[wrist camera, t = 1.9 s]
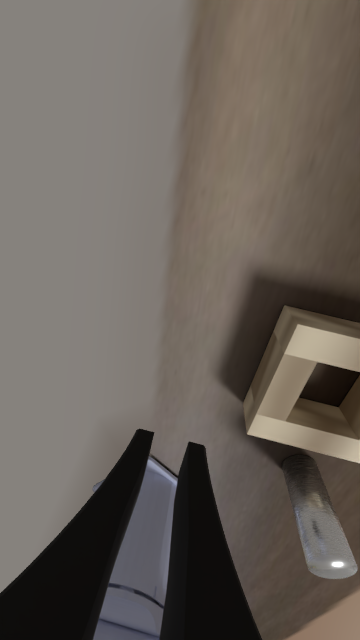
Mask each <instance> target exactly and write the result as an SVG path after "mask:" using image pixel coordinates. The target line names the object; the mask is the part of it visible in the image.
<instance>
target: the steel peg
mask: <svg viewBox="0 0 360 640" xmlns="http://www.w3.org/2000/svg"><path fill="white" fill-rule="evenodd" d="M282 469H283V473H284V477H285V481H286V485H287V489H288V493H289V496H290V500H291V504H292V508H293V512H294V516H295V520H296V524H297V528H298V531H299V535H300V539H301V543H302V547H303V551H304V555H305V559H306V563H307V566H308V569H309V570H310V571H311V572H312V573H313V574H315V575H317V576H320V577H323V578H329V579H342V578H347V577H350V576H352V575H354V574H355V573H356V572H357V569H358V568H357V565H356V562H355V560H354V557H353V555H352V552H351V549H350V547H349V544H348V542H347V539H346V537H345V534H344V532H343V529H342V527H341V524H340V522H339V519H338V517H337V514H336V512H335V509H334V507H333V504H332V502H331V499H330V497H329V494H328V491H327V489H326V486H325V484H324V481H323V479H322V476H321V474H320V471H319V469H318V466H317V464H316V462H315V460H314V459H312V458H311V457H308V456H305V455H294V456H290V457H288V458H286V459H285V460H284V461H283V463H282Z"/></svg>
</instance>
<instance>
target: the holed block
mask: <svg viewBox="0 0 360 640" xmlns="http://www.w3.org/2000/svg"><path fill="white" fill-rule="evenodd" d="M317 362H320V363H324V364H328V365H333V366H337V367H341V368H345V369H349V370H353V371H357V372H360V323H357V322H353V321H349V320H345V319H340V318H336V317H332V316H328V315H323V314H319V313H315V312H311V311H307V310H302V309H298V308H294V307H290V306H285V305H284V307H283V309H282V312H281V314H280V317H279V319H278V321H277V324H276V326H275V329H274V331H273V333H272V336H271V338H270V340H269V343H268V345H267V348H266V350H265V352H264V355H263V357H262V360H261V362H260V364H259V367H258V369H257V371H256V374H255V376H254V379H253V381H252V383H251V386H250V388H249V391H248V393H247V395H246V398H245V400H244V402H243V409H244V416H245V423H246V430H247V434H248V435H252V436H256V437H260V438H264V439H268V440H272V441H276V442H279V443H283V444H287V445H291V446H295V447H299V448H303V449H307V450H310V451H314V452H318V453H322V454H326V455H330V456H334V457H338V458H341V459H345V460H349V461H353V462H357V463H360V375H359V377H358V379H357V380H356V382H355V383H354V385H353V386H352V388H351V389H350V391H349V392H348V394H347V395H346V397H345V398H344V400H343V401H342V403H341V405H340V406H339V407H335V406H331V405H327V404H323V403H319V402H315V401H311V400H307V399H303V398H299V395H300V393H301V392H302V390H303V388H304V386H305V384H306V382H307V381H308V379H309V377H310V375H311V373H312V371H313V369H314V368H315V366H316V364H317Z"/></svg>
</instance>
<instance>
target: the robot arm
mask: <svg viewBox="0 0 360 640" xmlns="http://www.w3.org/2000/svg"><path fill="white" fill-rule="evenodd" d="M153 436H154V432H151V431H147V430H143V429H138V430H136V433H135V435H134V436H133V438H132V440H131V442H130V444H129V445H128V447H127V449H126V450H125V452H124V453H123V455H122V456H121V458H120V459H119V461H118V462H117V463H116V465H115V466H114V468H113V469H112V470H111V472H110V473H109V474H108V476H107V477H106V479H104V480H103V481H101V482H99V483H97V484H96V485H94V487H93V491H94V492H95V493H94V494H93V495H92V496H91V498H90V499H89V500H88V501H87V503H86V504H85V505H84V506H83V507H82V508H81V510H80V511H79V512H78V513H77V514H76V516H75V517H74V518H73V519H72V520H71V521H70V522H69V523H68V525H67V526H66V527H65V528H64V529H63V530H62V531H61V533H59V535H58V536H57V537H56V538H55V539H54V540H53V541H52V542H51V543H50V544H49V545H48V546H47V547H46V548H45V549H44V550H43V552H42V553H41V554H40V555H39V556H38V557H37V558H36V559H35V560H34V561H33V562H32V563H31V564H30V565H29V566H28V567H27V568H26V569H25V570H24V571H23V572H22V573H21V574H20V575H19V576H18V577H17V578H16V579H15V580H14V581H13V582H12V583H11V584H9V585H8V586H7V587H6V588H5V589H4V590H3V591H2V592H1V593H0V640H262V638H261V636H260V633H259V631H258V628H257V626H256V624H255V621H254V619H253V616H252V613H251V611H250V608H249V605H248V603H247V600H246V597H245V595H244V592H243V589H242V587H241V584H240V581H239V578H238V575H237V572H236V569H235V566H234V563H233V560H232V557H231V554H230V551H229V548H228V545H227V541H226V538H225V535H224V531H223V528H222V524H221V521H220V517H219V513H218V509H217V505H216V501H215V497H214V493H213V489H212V485H211V480H210V475H209V469H208V464H207V457H206V448H205V447H204V445H200V444H196V443H193V442H189V443H188V446H187V449H186V452H185V455H184V458H183V461H182V465H181V468H180V471H179V475H178V478H176V477H175V476H174V475H173V474H171V473H170V472H169V471H168V470H167V469H165V468H164V467H163V466H162V465H160V464H159V463H158V462H157V461H156V460H154V459H153V458H152V457H150V456H149V453H150V449H151V445H152V440H153Z"/></svg>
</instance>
